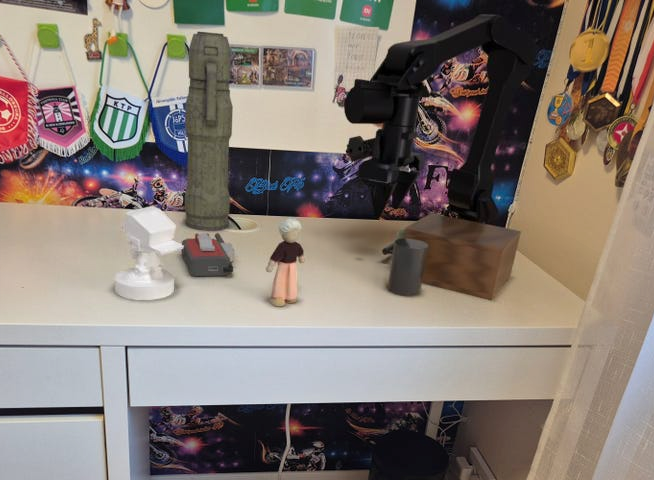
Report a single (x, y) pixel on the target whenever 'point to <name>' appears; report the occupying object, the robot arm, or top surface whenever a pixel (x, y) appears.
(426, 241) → the cabinet
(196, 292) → the top surface
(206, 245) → the walkie-talkie
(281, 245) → the grandmother figurine
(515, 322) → the top surface
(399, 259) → the cup
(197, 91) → the thermos
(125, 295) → the character figurine
